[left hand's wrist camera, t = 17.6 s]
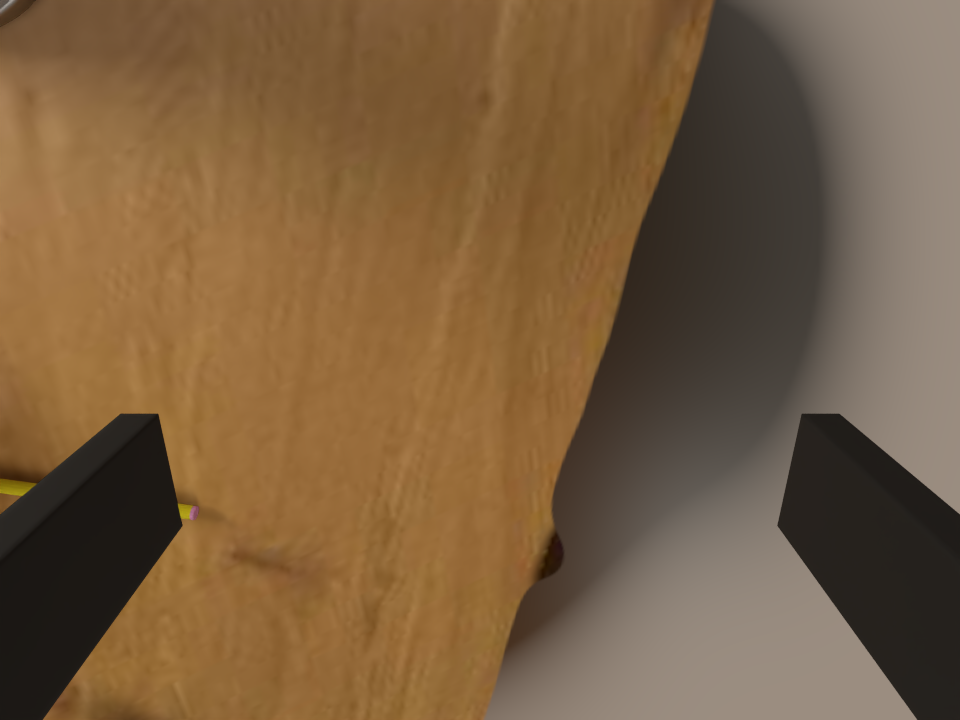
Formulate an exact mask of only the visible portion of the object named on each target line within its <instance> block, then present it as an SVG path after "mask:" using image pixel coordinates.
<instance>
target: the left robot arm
mask: <svg viewBox="0 0 960 720" xmlns="http://www.w3.org/2000/svg"><path fill="white" fill-rule="evenodd" d="M34 1H35V0H0V26H2V25H4V24H6V23H8V22H10V21H12V20H13V19H15V18H16V17H18V16H19V15H20V14H22V13H23V12H24V11H25V10H26V9H28V8H29V7H30V6H31V5H32V4H33V2H34ZM182 526H183V525H182V521H181V516H180V512H179V507H178V502H177V498H176V493H175V489H174V484H173V479H172V475H171V470H170V466H169V461H168V456H167V452H166V447H165V443H164V438H163V433H162V429H161V424H160V420H159V415H158V414H120V415H119V416H117V417H116V418H115V419H114V420H113V421H111V422H110V423H109V424H108V425H107V426H105V427H104V428H103V429H102V430H101V431H99V432H98V433H97V434H96V435H95V436H94V437H92V438H91V439H90V440H89V441H88V442H86V443H85V444H84V445H83V446H82V447H80V448H79V449H78V450H77V451H76V452H74V453H73V454H72V455H71V456H70V457H68V458H67V459H66V460H65V461H64V462H62V463H61V464H60V465H59V466H58V467H56V468H55V469H54V470H53V471H52V472H50V473H49V474H48V475H47V476H46V477H44V478H43V479H42V480H41V481H40V482H38V483H37V484H36V485H35V486H34V487H33V488H31V489H30V490H29V491H28V492H27V493H25V494H24V495H23V496H22V497H21V498H19V499H18V500H17V501H16V502H15V503H13V504H12V505H11V506H10V507H9V508H7V509H6V510H5V511H4V512H3V513H1V514H0V720H43V718H44V717H45V716H46V714H47V713H48V712H49V710H50V709H51V707H52V706H53V705H54V703H55V702H56V700H57V699H58V698H59V696H60V695H61V694H62V692H63V691H64V689H65V688H66V687H67V685H68V684H69V682H70V681H71V680H72V678H73V677H74V676H75V674H76V673H77V671H78V670H79V669H80V667H81V666H82V664H83V663H84V662H85V660H86V659H87V657H88V656H89V655H90V653H91V652H92V651H93V649H94V648H95V646H96V645H97V644H98V642H99V641H100V639H101V638H102V637H103V635H104V634H105V633H106V631H107V630H108V628H109V627H110V626H111V624H112V623H113V621H114V620H115V619H116V617H117V616H118V615H119V613H120V612H121V610H122V609H123V608H124V606H125V605H126V603H127V602H128V601H129V599H130V598H131V596H132V595H133V594H134V592H135V591H136V590H137V588H138V587H139V585H140V584H141V583H142V581H143V580H144V578H145V577H146V576H147V574H148V573H149V572H150V570H151V569H152V567H153V566H154V565H155V563H156V562H157V560H158V559H159V558H160V556H161V555H162V554H163V552H164V551H165V549H166V548H167V547H168V545H169V544H170V542H171V541H172V540H173V538H174V537H175V535H176V534H177V533H178V531H179V530H180V529H181V527H182ZM778 527H779V528H780V530H781V531H782V533H783V534H784V535H785V537H786V538H787V540H788V541H789V542H790V544H791V545H792V547H793V548H794V549H795V551H796V552H797V554H798V555H799V556H800V558H801V559H802V560H803V562H804V563H805V565H806V566H807V567H808V569H809V570H810V571H811V573H812V574H813V576H814V577H815V578H816V580H817V581H818V583H819V584H820V585H821V587H822V588H823V590H824V591H825V592H826V594H827V595H828V596H829V598H830V599H831V601H832V602H833V603H834V605H835V606H836V607H837V609H838V610H839V612H840V613H841V615H842V616H843V617H844V619H845V620H846V621H847V623H848V624H849V626H850V627H851V628H852V630H853V631H854V633H855V634H856V635H857V637H858V638H859V639H860V641H861V642H862V644H863V645H864V646H865V648H866V649H867V651H868V652H869V653H870V655H871V656H872V657H873V659H874V660H875V661H876V663H877V664H878V666H879V667H880V669H881V670H882V671H883V673H884V674H885V675H886V677H887V678H888V680H889V681H890V682H891V684H892V685H893V687H894V688H895V689H896V691H897V692H898V694H899V695H900V696H901V698H902V699H903V700H904V702H905V703H906V705H907V706H908V707H909V709H910V710H911V712H912V713H913V714H914V716H915V717H916V718H917V720H960V514H959V513H957V512H956V511H955V510H954V509H953V508H951V507H950V506H949V505H948V504H947V503H945V502H944V501H943V500H942V499H941V498H939V497H938V496H937V495H936V494H935V493H933V492H932V491H931V490H930V489H929V488H927V487H926V486H925V485H924V484H923V483H921V482H920V481H919V480H918V479H917V478H916V477H914V476H913V475H912V474H911V473H910V472H908V471H907V470H906V469H905V468H904V467H902V466H901V465H900V464H899V463H898V462H896V461H895V460H894V459H893V458H892V457H890V456H889V455H888V454H887V453H886V452H884V451H883V450H882V449H881V448H880V447H878V446H877V445H876V444H875V443H874V442H872V441H871V440H870V439H869V438H868V437H866V436H865V435H864V434H863V433H862V432H860V431H859V430H858V429H857V428H856V427H855V426H853V425H852V424H851V423H850V422H849V421H847V420H846V419H845V418H844V417H843V416H841V415H840V414H802V415H801V420H800V424H799V429H798V433H797V438H796V443H795V447H794V452H793V457H792V461H791V466H790V470H789V475H788V479H787V484H786V489H785V493H784V498H783V503H782V507H781V512H780V516H779V521H778Z"/></svg>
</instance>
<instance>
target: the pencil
mask: <svg viewBox="0 0 960 720" xmlns="http://www.w3.org/2000/svg"><path fill="white" fill-rule="evenodd" d="M36 484H37V483H30V482H23V481H15V480H8V479H1V478H0V493H3V494H11V495H18V496H23V495H24V494H25V493H27V492H28V491H29V490H30V489H31V488H33V487H34V486H35V485H36ZM178 507H179V512H180V516H181V518H183V519H190V520H195V519H196V518H197V516H198V512H199V507H198V506H194V505H186V504H179V503H178Z"/></svg>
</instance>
